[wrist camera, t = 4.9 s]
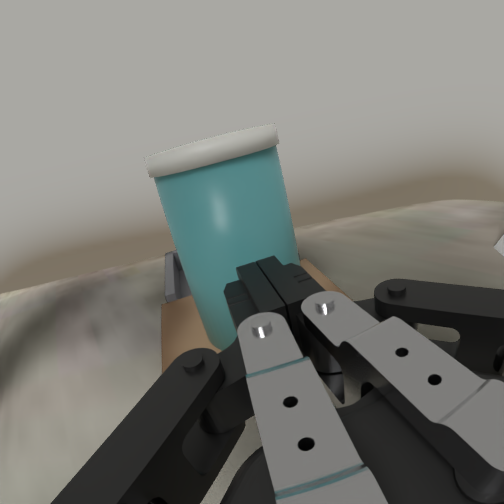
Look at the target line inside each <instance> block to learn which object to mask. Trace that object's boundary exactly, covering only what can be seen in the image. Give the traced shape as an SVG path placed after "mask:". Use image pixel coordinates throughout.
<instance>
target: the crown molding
mask: <svg viewBox="0 0 504 504" xmlns="http://www.w3.org/2000/svg"><path fill="white" fill-rule="evenodd" d="M494 248H495V249H496V250H497V251H498V252H499V253H500V254H501V255H503V256H504V234H503V236H502V237H501V238H500V240H499V241H498V242H497V244H496V245H495V246H494Z"/></svg>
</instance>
